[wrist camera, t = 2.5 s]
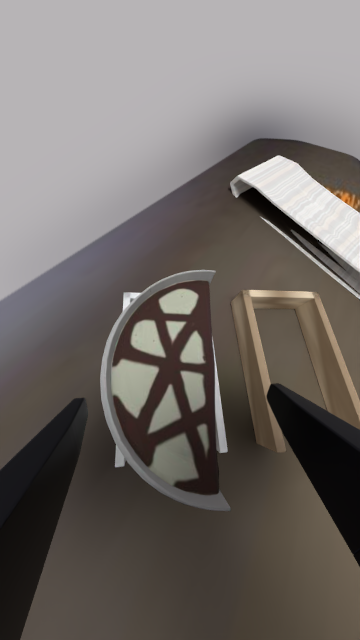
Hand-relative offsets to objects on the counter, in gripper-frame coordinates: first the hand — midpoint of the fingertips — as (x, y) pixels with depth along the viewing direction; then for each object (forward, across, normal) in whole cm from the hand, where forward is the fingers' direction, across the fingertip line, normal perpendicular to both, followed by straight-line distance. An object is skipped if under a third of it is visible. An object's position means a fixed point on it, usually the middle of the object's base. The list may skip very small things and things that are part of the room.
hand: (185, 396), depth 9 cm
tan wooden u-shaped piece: (+8, -13, +5) cm, 16 cm away
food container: (+8, +1, +6) cm, 10 cm away
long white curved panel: (+21, -29, -7) cm, 36 cm away
